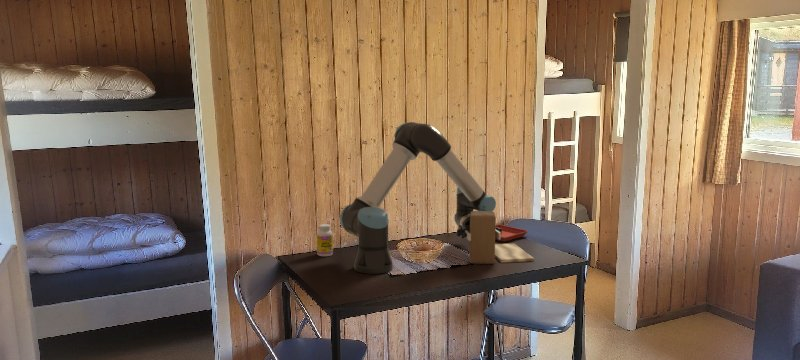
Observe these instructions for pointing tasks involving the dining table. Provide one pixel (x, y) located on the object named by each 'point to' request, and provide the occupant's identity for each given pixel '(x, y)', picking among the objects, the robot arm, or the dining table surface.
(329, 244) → the supplement bottle
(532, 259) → the board
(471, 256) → the block
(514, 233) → the plant saucer
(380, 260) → the robot arm
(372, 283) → the dining table surface
